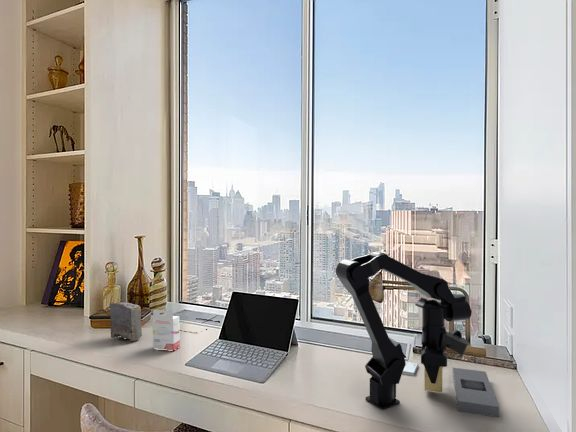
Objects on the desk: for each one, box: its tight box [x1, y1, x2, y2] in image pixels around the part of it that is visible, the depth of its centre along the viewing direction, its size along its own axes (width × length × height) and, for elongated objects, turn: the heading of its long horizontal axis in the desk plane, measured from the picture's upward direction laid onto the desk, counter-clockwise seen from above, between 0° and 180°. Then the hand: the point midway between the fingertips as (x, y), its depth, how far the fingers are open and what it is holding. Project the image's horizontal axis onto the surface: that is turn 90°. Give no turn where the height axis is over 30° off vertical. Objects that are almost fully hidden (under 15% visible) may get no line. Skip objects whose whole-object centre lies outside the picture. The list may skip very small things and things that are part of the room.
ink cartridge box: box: [152, 309, 181, 351], centre depth 142 cm, size 9×5×15 cm, turn 76°
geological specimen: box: [109, 301, 143, 342], centre depth 152 cm, size 11×6×15 cm, turn 67°
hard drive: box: [402, 361, 419, 377], centre depth 125 cm, size 2×8×12 cm
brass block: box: [423, 366, 443, 393], centre depth 107 cm, size 4×4×7 cm
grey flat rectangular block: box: [452, 367, 500, 418], centre depth 106 cm, size 22×9×2 cm, turn 161°
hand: (433, 379), depth 107 cm, fingers closed on brass block, 4 cm apart
